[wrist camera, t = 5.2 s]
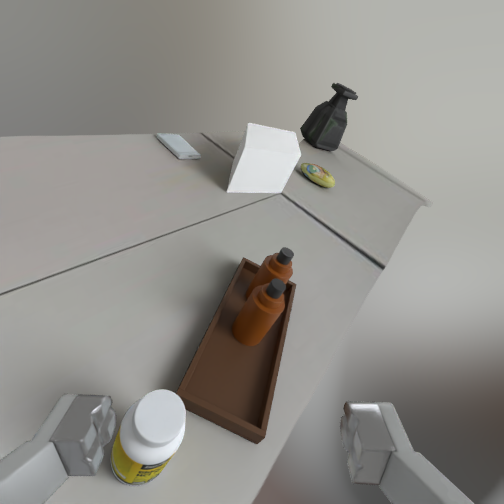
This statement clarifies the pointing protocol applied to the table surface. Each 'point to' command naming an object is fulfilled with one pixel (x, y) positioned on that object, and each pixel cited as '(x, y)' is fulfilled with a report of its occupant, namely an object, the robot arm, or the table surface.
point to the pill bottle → (148, 437)
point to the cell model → (318, 175)
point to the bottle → (328, 120)
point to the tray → (236, 365)
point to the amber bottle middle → (259, 313)
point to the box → (263, 160)
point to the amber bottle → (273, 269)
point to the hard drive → (178, 146)
